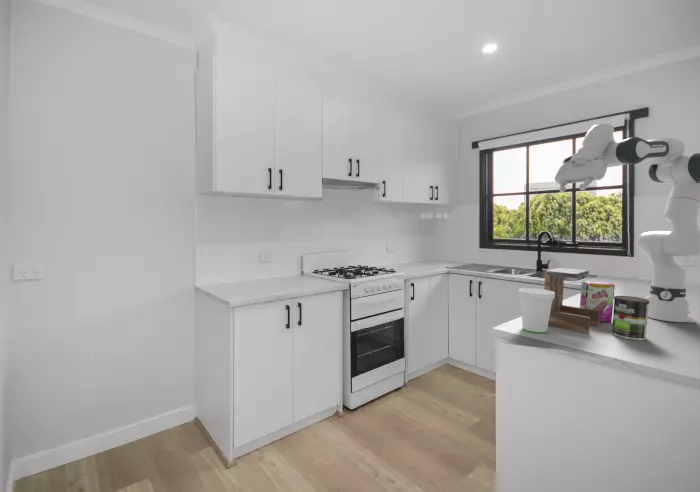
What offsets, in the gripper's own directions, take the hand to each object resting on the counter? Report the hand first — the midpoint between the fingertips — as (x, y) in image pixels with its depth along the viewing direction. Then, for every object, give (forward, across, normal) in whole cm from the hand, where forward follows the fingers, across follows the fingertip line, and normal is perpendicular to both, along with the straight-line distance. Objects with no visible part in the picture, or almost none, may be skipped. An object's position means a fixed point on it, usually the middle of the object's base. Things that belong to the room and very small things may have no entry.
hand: (571, 190), depth 144 cm
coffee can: (+42, -17, -37) cm, 58 cm away
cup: (+56, -4, -11) cm, 57 cm away
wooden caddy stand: (+46, -1, -30) cm, 54 cm away
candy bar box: (+38, +3, -44) cm, 58 cm away
